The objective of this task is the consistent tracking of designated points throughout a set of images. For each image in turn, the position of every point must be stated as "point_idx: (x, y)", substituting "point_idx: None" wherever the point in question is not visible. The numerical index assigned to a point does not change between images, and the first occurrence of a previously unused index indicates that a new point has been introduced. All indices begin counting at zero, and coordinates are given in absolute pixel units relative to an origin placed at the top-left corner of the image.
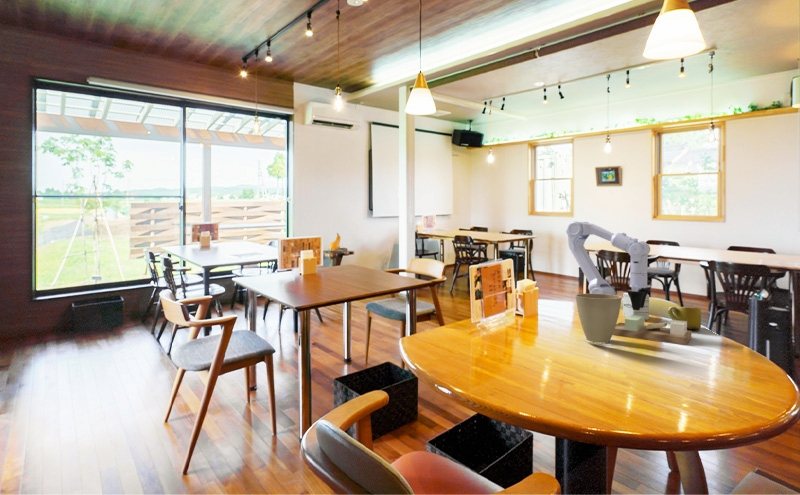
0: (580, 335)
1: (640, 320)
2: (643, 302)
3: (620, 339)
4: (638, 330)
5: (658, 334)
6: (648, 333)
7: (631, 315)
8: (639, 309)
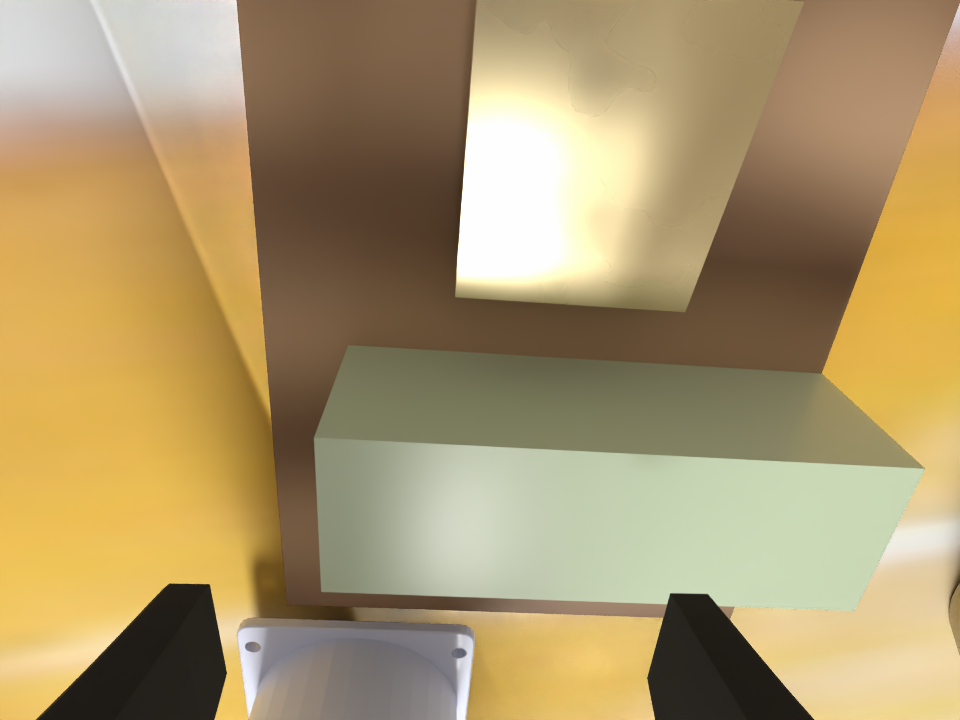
0: (860, 709)
1: (645, 431)
2: (138, 711)
3: (915, 455)
4: (746, 366)
5: (926, 84)
6: (870, 229)
7: (421, 594)
8: (693, 604)
